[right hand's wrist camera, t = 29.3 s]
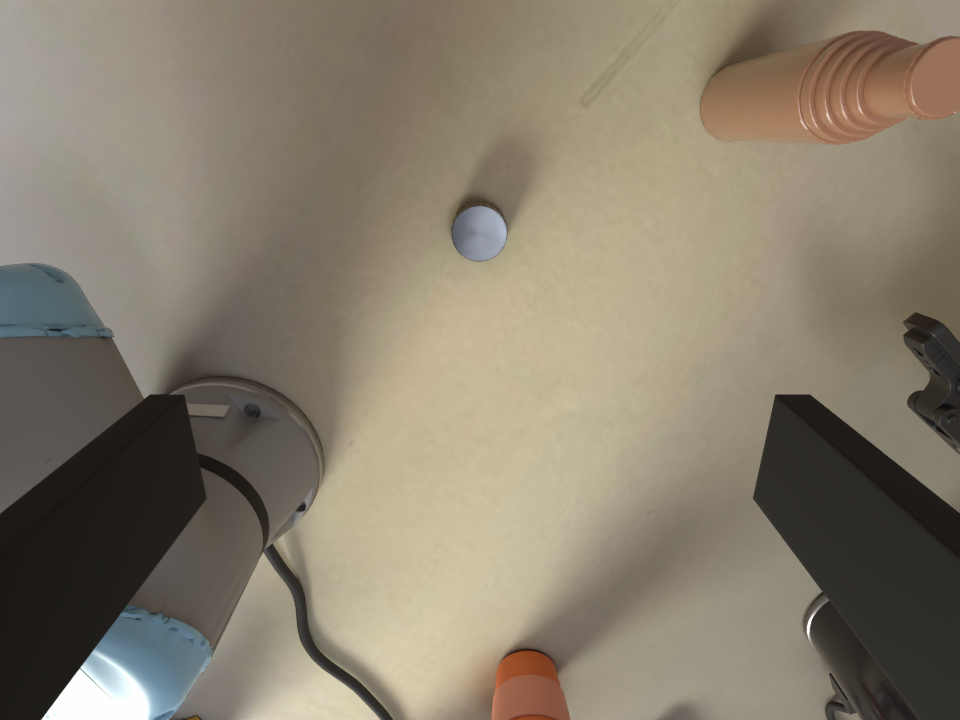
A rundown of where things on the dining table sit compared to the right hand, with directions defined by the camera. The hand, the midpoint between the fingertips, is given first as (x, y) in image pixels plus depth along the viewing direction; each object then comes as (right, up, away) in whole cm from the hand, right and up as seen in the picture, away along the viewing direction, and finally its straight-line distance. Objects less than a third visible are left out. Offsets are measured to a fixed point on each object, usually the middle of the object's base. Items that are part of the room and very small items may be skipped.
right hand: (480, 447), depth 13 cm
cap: (0, +11, +27) cm, 30 cm away
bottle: (+18, +20, +26) cm, 37 cm away
